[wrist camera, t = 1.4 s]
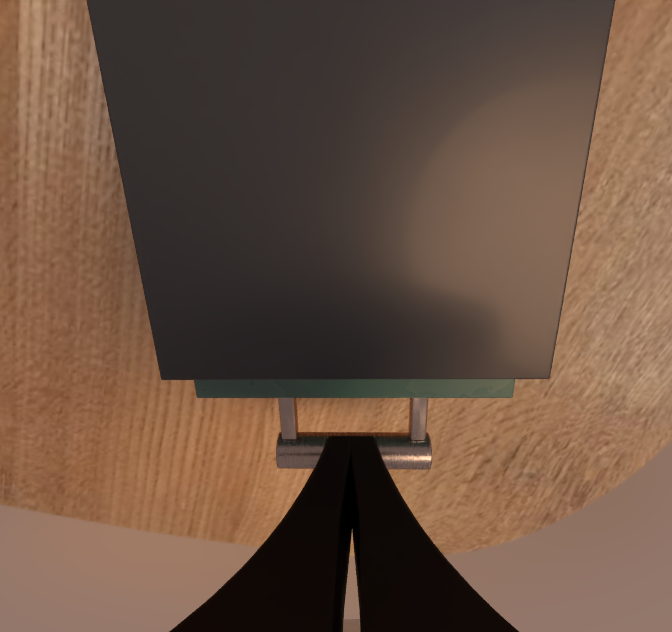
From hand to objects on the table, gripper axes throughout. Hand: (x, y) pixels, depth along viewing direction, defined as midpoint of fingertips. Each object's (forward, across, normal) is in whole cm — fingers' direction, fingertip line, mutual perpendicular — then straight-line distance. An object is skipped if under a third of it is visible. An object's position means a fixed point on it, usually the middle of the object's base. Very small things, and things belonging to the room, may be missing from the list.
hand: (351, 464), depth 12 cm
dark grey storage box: (+8, 0, -9) cm, 12 cm away
